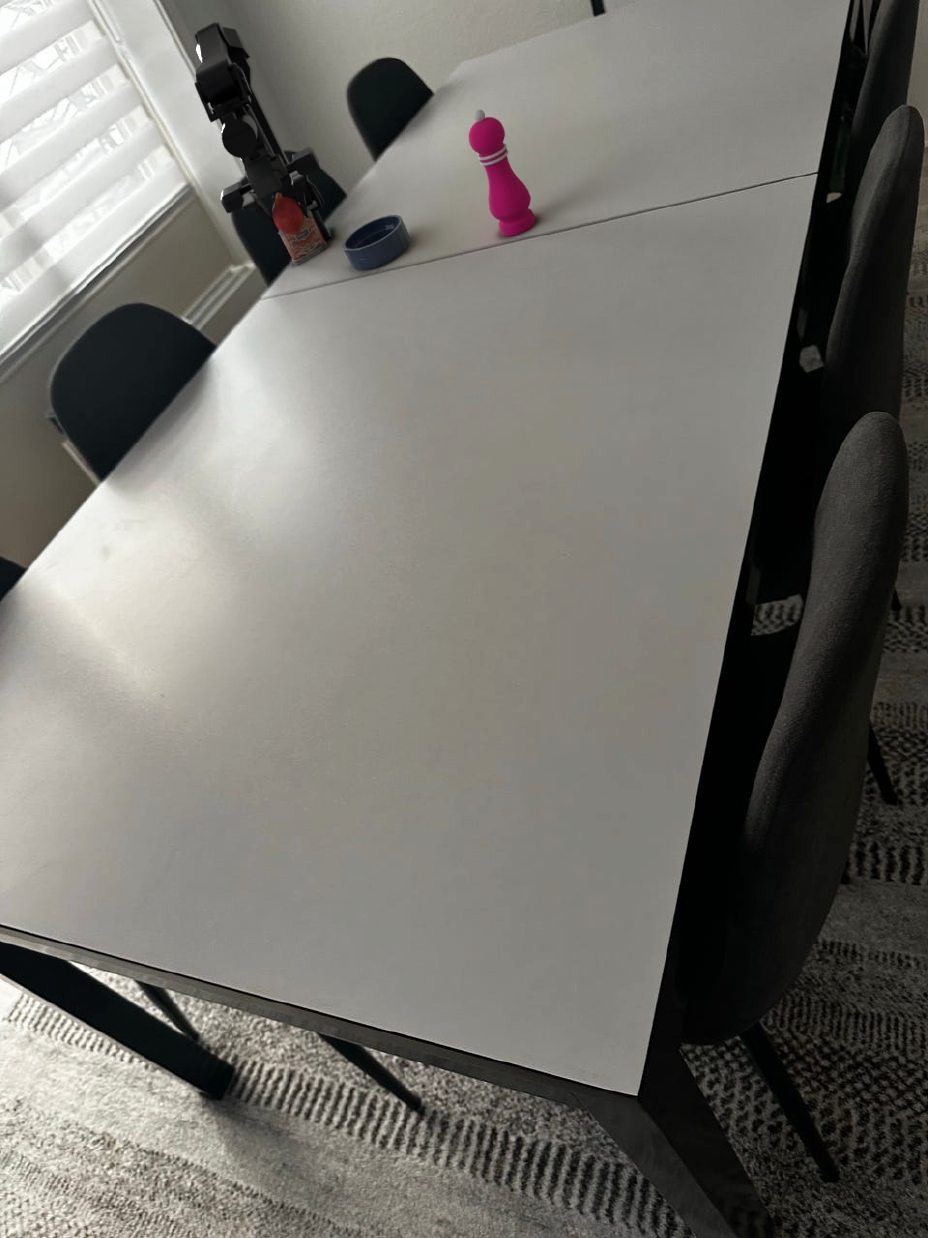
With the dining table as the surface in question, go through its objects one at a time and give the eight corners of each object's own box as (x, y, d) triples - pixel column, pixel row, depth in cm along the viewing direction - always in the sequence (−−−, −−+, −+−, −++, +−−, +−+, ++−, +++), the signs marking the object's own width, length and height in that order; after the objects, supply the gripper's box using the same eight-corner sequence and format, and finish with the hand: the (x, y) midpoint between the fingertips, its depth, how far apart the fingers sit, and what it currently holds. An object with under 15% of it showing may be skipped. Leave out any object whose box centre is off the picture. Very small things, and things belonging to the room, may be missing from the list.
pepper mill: (543, 212, 163) (504, 94, 150) (530, 233, 158) (489, 114, 145) (506, 220, 166) (466, 106, 153) (493, 241, 162) (450, 125, 149)
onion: (307, 237, 171) (285, 195, 166) (280, 246, 173) (258, 205, 168) (315, 223, 175) (294, 182, 170) (289, 232, 177) (268, 191, 172)
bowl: (350, 256, 184) (340, 235, 181) (407, 229, 182) (398, 207, 179) (355, 279, 174) (345, 257, 171) (415, 251, 173) (405, 228, 170)
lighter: (296, 265, 192) (273, 220, 185) (291, 261, 194) (268, 217, 187) (329, 246, 193) (307, 200, 186) (323, 242, 195) (301, 196, 188)
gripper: (200, 177, 158) (247, 261, 168) (298, 128, 155) (340, 216, 165) (203, 159, 166) (248, 240, 176) (296, 112, 164) (336, 197, 174)
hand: (292, 224), depth 173 cm, fingers closed on onion, 6 cm apart
